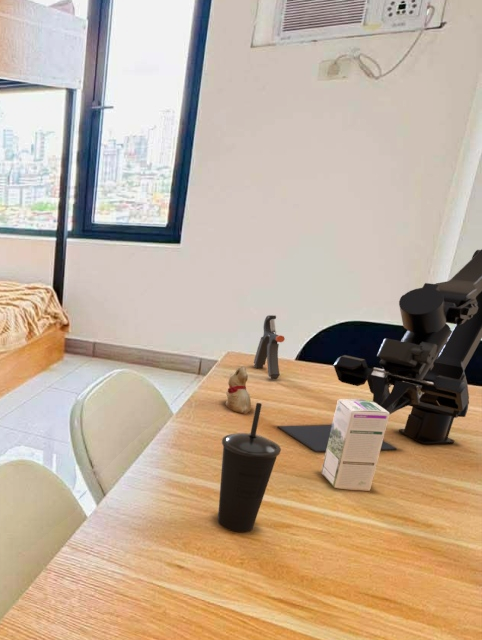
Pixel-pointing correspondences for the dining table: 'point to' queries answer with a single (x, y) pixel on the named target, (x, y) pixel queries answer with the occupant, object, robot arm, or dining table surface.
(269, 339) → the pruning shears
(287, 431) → the placemat
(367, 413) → the syrup box
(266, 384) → the dining table surface
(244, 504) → the drinking cup
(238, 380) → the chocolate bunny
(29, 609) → the dining table surface
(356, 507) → the dining table surface
